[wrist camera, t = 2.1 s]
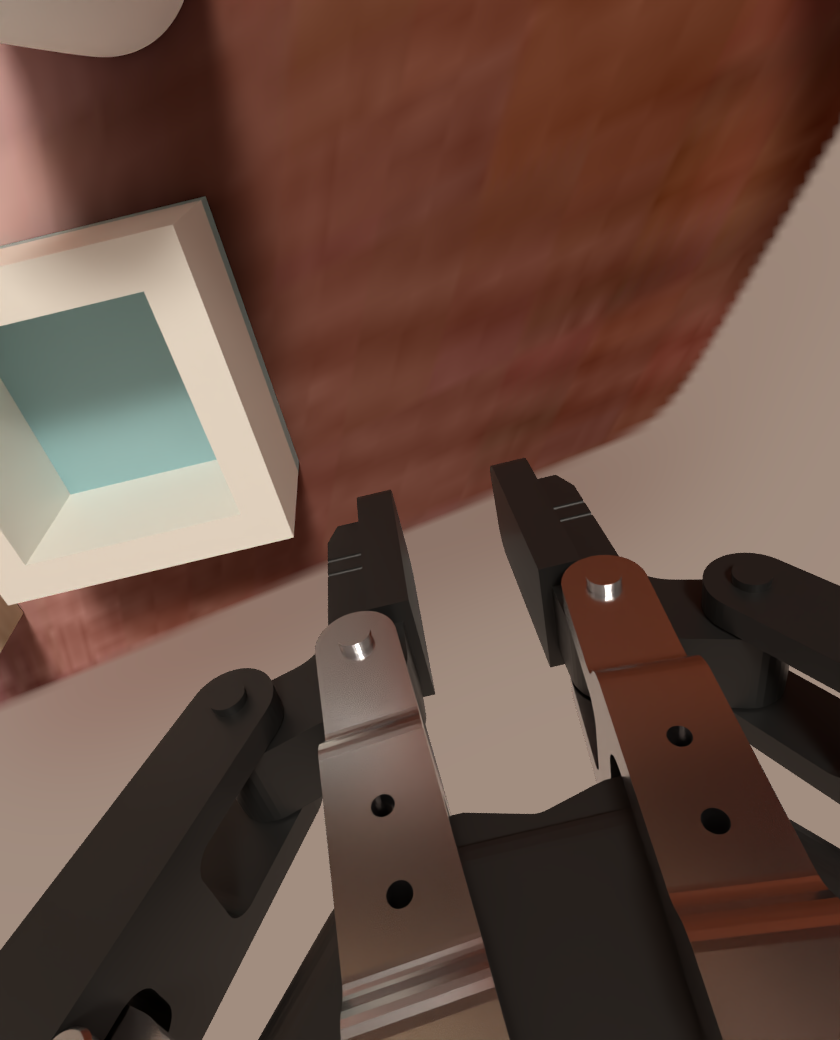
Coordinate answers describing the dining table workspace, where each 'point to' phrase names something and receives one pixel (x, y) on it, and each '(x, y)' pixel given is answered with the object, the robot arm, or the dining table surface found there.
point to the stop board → (8, 620)
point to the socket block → (132, 406)
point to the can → (86, 24)
